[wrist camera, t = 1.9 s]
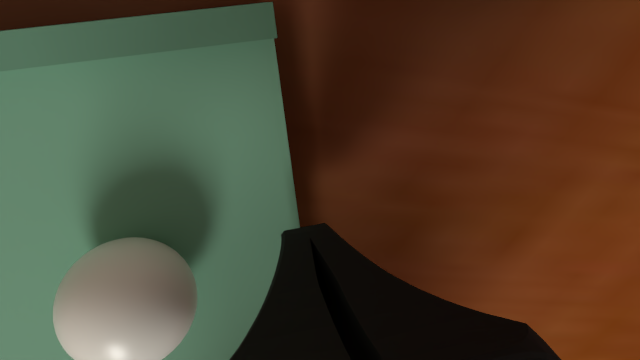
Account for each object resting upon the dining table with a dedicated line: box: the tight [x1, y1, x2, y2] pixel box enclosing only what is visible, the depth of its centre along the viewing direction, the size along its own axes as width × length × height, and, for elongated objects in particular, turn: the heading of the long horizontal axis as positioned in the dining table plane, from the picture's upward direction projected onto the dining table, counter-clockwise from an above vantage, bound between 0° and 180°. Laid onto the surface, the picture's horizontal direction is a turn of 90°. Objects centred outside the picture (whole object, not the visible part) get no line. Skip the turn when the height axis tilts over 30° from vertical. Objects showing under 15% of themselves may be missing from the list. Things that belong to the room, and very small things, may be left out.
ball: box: [53, 237, 197, 360], centre depth 11 cm, size 4×4×4 cm
